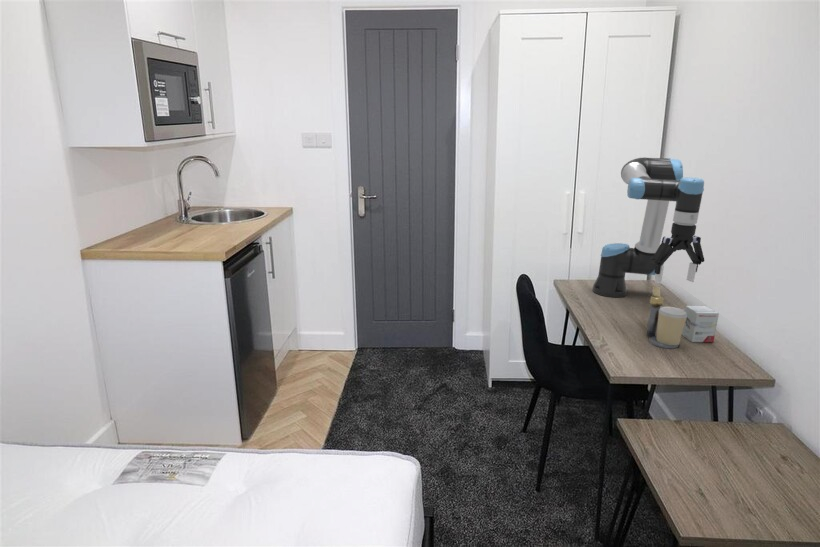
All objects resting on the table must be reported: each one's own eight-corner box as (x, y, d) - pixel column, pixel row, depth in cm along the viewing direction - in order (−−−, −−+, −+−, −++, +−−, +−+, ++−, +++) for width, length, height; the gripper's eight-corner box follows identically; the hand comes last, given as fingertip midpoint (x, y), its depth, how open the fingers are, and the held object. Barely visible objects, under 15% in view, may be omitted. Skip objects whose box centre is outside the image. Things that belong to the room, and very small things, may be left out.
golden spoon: (661, 293, 216) (662, 287, 216) (662, 306, 201) (664, 299, 200) (649, 291, 218) (650, 285, 217) (649, 304, 202) (651, 298, 201)
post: (647, 333, 209) (652, 302, 206) (656, 335, 207) (661, 304, 204) (645, 336, 206) (650, 304, 203) (654, 338, 205) (660, 306, 201)
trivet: (650, 335, 207) (651, 334, 207) (679, 341, 202) (680, 340, 202) (646, 344, 199) (647, 342, 198) (676, 350, 194) (677, 349, 194)
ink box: (701, 334, 210) (707, 305, 207) (713, 342, 202) (720, 312, 199) (679, 333, 210) (684, 304, 207) (691, 342, 202) (697, 312, 199)
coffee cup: (670, 335, 206) (675, 305, 203) (687, 345, 197) (693, 314, 194) (648, 336, 204) (653, 306, 201) (664, 347, 195) (670, 315, 192)
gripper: (660, 226, 181) (650, 286, 188) (723, 224, 187) (711, 283, 194) (646, 221, 188) (636, 280, 195) (706, 220, 194) (695, 277, 201)
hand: (673, 281), depth 194 cm, fingers open, 13 cm apart
